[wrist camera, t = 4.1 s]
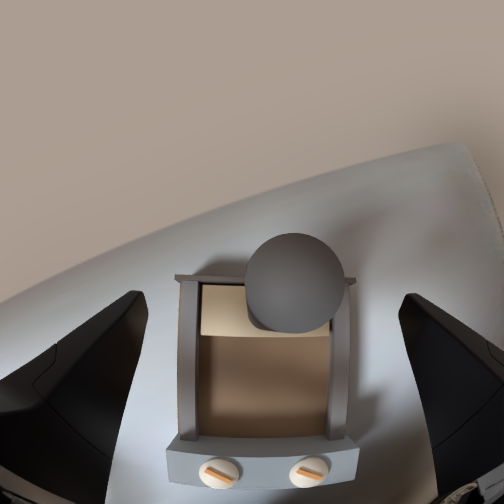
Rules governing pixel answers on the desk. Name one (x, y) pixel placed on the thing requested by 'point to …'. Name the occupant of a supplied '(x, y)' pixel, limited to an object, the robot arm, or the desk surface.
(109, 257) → the desk surface
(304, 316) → the grey cylinder
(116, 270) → the desk surface
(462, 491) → the ink bottle
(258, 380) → the open grey box
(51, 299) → the desk surface
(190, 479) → the gauge cabinet
